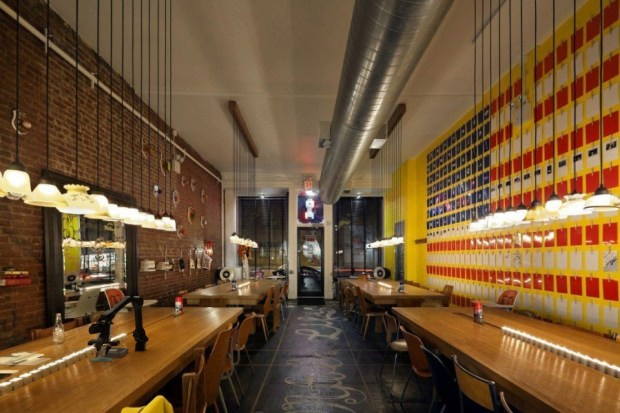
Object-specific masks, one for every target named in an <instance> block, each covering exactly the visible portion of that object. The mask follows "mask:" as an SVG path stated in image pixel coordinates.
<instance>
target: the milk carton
mask: <svg viewBox="0 0 620 413" xmlns="http://www.w3.org/2000/svg"><path fill="white" fill-rule="evenodd" d="M103 322H105V321H103ZM113 325H114V324H111V326H110V333H111V334H110V336H109V339H110V341H112V334H113ZM99 334H100V333H97V334H96V339H97V338H98V337H99Z"/></svg>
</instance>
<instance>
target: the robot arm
mask: <svg viewBox="0 0 620 413" xmlns="http://www.w3.org/2000/svg"><path fill="white" fill-rule="evenodd" d="M144 302H145V299H144V297H143V296H137V295H135V296H129V295H126V296H124V297H123V298H122V299H121V300H120V301H119V302H118V303H115V305H114V306H113V307H112V308H110V309H107V310H105V311H103V312H102V313H101V314H100V315H99V318H98V319H97V320H96V322H95V323H94V322H93V323H91V325H90V326H89V328H88V329H87V330H88V333H89V335H97V333H100V334H99V337H98V338H97V337H96V338H94V339H93V338H92V339H89V340H88V341H87V343H86V344H87V346H93V347H94V348H95V349H96V352H99V351H100V350H101V349H102V347H103V344H107V345H105V347H106V353H105V356H107V354H108V352H109V350H110V348H111V347H118V346H120V344H121V341H120V339H114V340H111V341H110V339H109V336H110V334H111V333H110V326H111V324H113V325H114V324H115V322H113V320H114V319H115V317H116V315H117V314H118V313H119V312H120V311H122V309H124V308H125V307H126V306H127V305H128V304H129V303H131V306H132V307H133V309H134V327H135V329H134V330H133V331H132V338H133V339H134V342H135V345H134V352H144V351H146V350H147V342H149V340H150V339H149V337H148V336H147V333H146V330H145V328H144V326H143V325H144V324H143V309H142V308H143V307H144V304H145V303H144ZM103 321H105V322H103ZM145 349H146V350H145Z"/></svg>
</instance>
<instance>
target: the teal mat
mask: <svg viewBox="0 0 620 413" xmlns="http://www.w3.org/2000/svg"><path fill="white" fill-rule="evenodd" d="M113 360H114V358H109V357H105V358H98V357H96V356H95V357H94V358H92V359H90V360H89V362H103V363H106V362H107V363H108V362H111V361H113Z"/></svg>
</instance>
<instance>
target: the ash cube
mask: <svg viewBox="0 0 620 413" xmlns="http://www.w3.org/2000/svg"><path fill="white" fill-rule="evenodd" d="M105 353H106V350H100V351H99V352H98V357H97V358H107V357H106V356H105Z"/></svg>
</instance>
